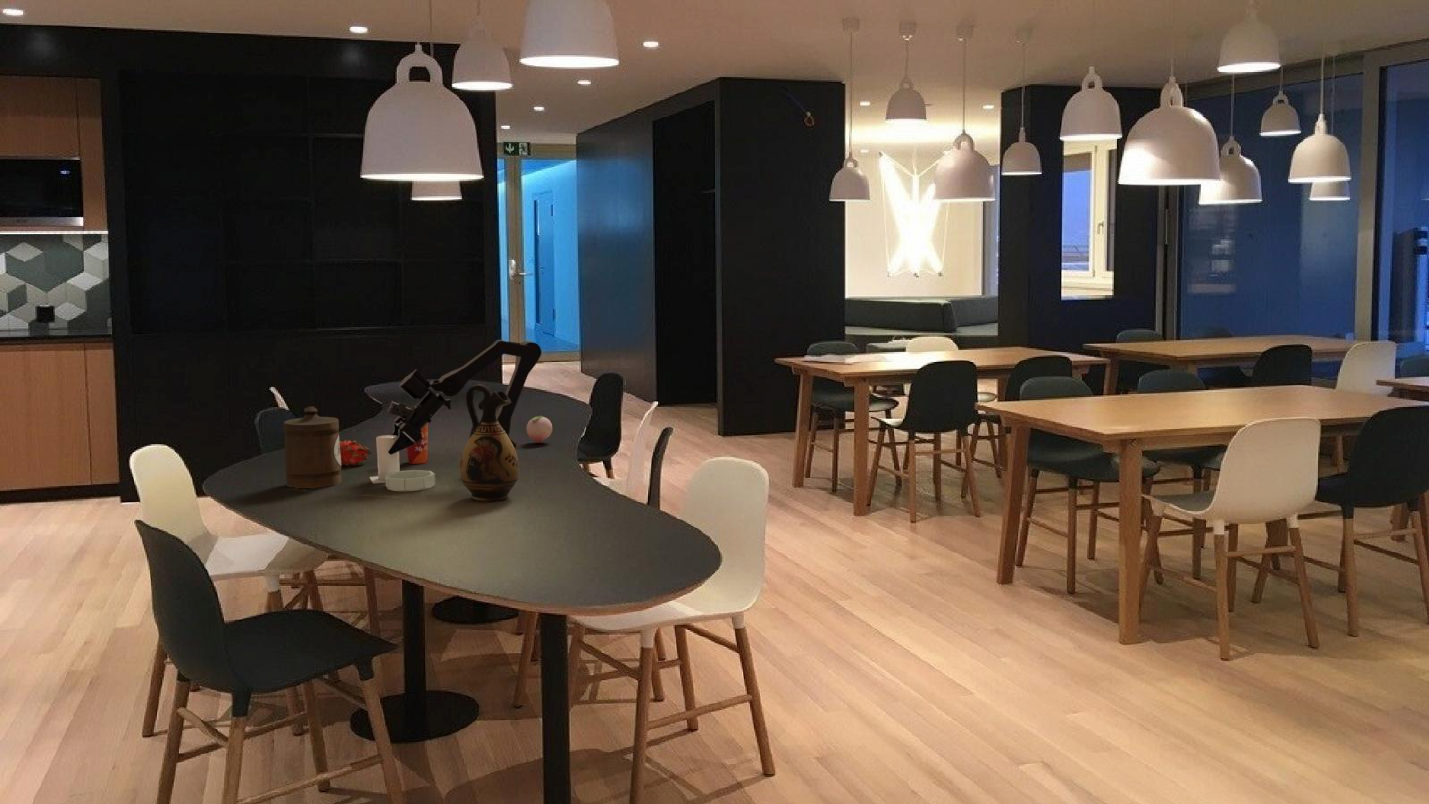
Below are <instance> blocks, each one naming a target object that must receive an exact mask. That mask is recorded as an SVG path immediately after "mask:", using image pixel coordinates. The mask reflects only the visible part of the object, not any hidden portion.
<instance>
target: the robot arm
mask: <svg viewBox="0 0 1429 804" xmlns="http://www.w3.org/2000/svg"><path fill="white" fill-rule="evenodd" d="M503 355H509V356H513V357H515V361H514V362H515V364H514V371H513V372H512V374H511V377H510V380H509V383H508V385H507V388H506V389H505V392H504V393H505V394H506V395H507V396H508V398H509V399H510V400H511V403H510V404H507V405H505V406H502V407H500V408H498V411H497V413H496V419H497V421H498V423H499V424H500V425H501V427H502V428H503V430H504V431H505V432H506V434H507V436H508V437H509V439H510V441H511V442H512V444H513V446H514V448H515V451H516V452H517V450H516V448H517V443H515V442H514V441H513V440H512V439H511V438H510V434H511V433H510V432H511V426H512V425H511V423H512V417H513V414H514V412H515V409H516V407H517V404H518V402H519V398H520V396H521V394H522V392H523V389H524V386H525V383H526V381H527V379H528V375H529V374H530V373H531V371H532V370H533V369H534V368H535V366H536V365H537V363H538V361H539V360H540V358H541V356H542V348H541V346H540V345H539V344H538V343H536V342H533V341H531V340H524V341H522V342H516V341H515V342H514V341H507V340H503V339H497V340H495V341H494V342H493V343H492V344H491V345H490V346H489V347H487V348H486V349H485V350H483V351H482V352H480V353H479V354H478V355H476V356H475V357H473V358H472V359H471V360H469V361H468V362H466V363H465V364H464V365H463V366H461V367H459V368H456V369H454V370H451V371H450V372H447V373H446V374H444V375H442V376H441V377H440V378H439V379H435V380H429V381H428V380H427V379H426V377H424V376H423V375H422V374H421V373H420V372H419V370H418V369H414V371H412V372H411V373H409V374H408V375H407V376H405V377H404V378H403V380H402V381H401V382H400V384H399V385H398V387H399V388H400V389H401V390H402V391H404V393H406V394H407V395H408V396H409V397H410V398H411V399H412V400H416V399H418V400H420V401H419V402H417V404H416V405H412V406H411V407H408V406H406V403H403V402H399V403H398V402H395V401H391V402H390V404H389V407H388V409H387V413H388V414H391V416H392V415H393V416H394V415H395V416H397V417H396V418H395V419H393V421H394V422H392V423H393V431H392V433H391V435H395V436H398V438H397V439H396V441H395V442H394V444H393V445H392V447H391V448H390V450H389V451H388V453H389V454H390V455H392V454H394V453H396V452H398V451H399V452H400V451H402V450H405V449H407V447H409V446H412V445H415V444H416V443H419V442H420V440H421V439H422V434H421V432H422V431H421V430H422V429H423V427H424V426H425V425H426V424H427V423H428V424H431V422H432V419H433V418H434V417H436V415H437V414H438V412H440V411H441V409H443V407H445V408H447V409H448V410H451V409H452V405H451V402H452V400H451V399H450V398H448V399H446V397H454V396H456V395H458V394H459V393H460V392H461V391H462V390H463V389H464V388H465V386H466V385H467V384H468V382H469V381H470V380H471V379H472V378H473V377H475V375H477V374H478V373H480V372H481V371H482V370H484V369H485V368H486V367H488V366H489V365H491V364H492V363H493V362H495V361H496V360H497V359H499V358H500V357H501V356H503ZM430 388H431V389H432V390H434V391H435V392H437V393H436V394H435V393H434V392H433V391H432V390H430ZM439 392H440V393H439ZM442 394H443V395H444V396H446V397H444V396H443V395H442ZM414 441H415V442H416V443H415V442H414Z"/></svg>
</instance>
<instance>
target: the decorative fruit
mask: <svg viewBox="0 0 1429 804" xmlns="http://www.w3.org/2000/svg"><path fill="white" fill-rule="evenodd" d="M526 432H527V435H528V437H529V438H530V439H531V440H533V442H535V443H536V444H540V443H542V442H543V441H544V440H545V441H546V439H548V437H550V436H551V434H552V433H553V425H552V422H551V420H550V419H549V418H547V417H544V416H543V415H540V414H539V413H537V415H536V416H535V417H533V418H531V419H530V420H529V421H528V423H527V424H526Z"/></svg>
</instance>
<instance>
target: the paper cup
mask: <svg viewBox="0 0 1429 804" xmlns="http://www.w3.org/2000/svg"><path fill="white" fill-rule="evenodd" d="M428 427H429V423H427V424H426V425H425V426H424V427H423V429H422V430H421V431H422V432H421V434H422V439H421V440H420V442H419V443H416V442H415V441H414V442H415V443H416V444H415V445H412V446H409V447H407V448H406V455H407V463H408V464H410V465H411V464H412V465H417V464H418V465H420V464H425V463H427V462H428V436H429V435H428V429H429V428H428Z"/></svg>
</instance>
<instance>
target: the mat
mask: <svg viewBox="0 0 1429 804" xmlns="http://www.w3.org/2000/svg"><path fill="white" fill-rule="evenodd" d="M369 479H370V481H371V482H372V484H382V483H383V484H384V483H385V484H386V482H385V481H381V480H378V475H376V476H369Z"/></svg>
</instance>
